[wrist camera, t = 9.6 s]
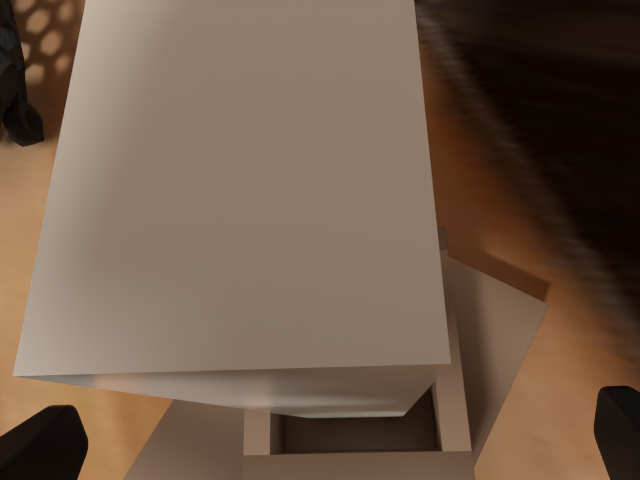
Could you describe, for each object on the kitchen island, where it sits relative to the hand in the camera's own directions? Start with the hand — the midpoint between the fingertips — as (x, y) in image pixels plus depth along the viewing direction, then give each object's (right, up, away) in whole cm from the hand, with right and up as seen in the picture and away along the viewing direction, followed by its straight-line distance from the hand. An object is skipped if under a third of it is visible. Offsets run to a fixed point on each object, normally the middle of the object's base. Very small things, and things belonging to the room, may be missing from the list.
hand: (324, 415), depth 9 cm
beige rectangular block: (+1, -1, +9) cm, 9 cm away
